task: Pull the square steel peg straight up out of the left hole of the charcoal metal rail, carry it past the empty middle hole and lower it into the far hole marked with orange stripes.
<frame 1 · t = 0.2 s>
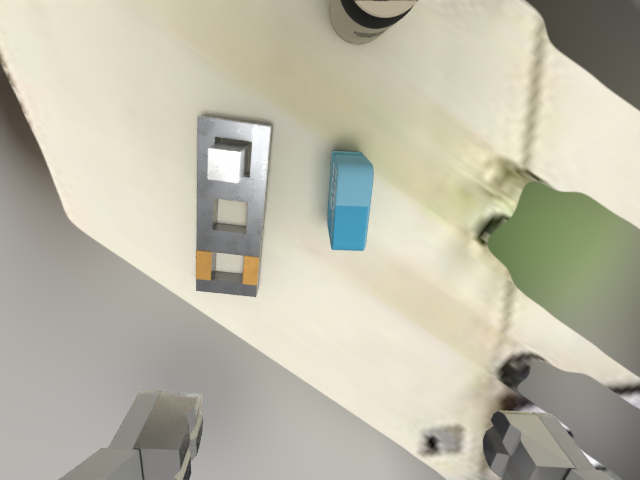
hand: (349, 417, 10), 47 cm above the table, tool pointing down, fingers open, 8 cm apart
steel peg: (236, 154, 53), resting in hole rail
hole rail: (233, 210, 56), on the table
travel mug: (359, 10, 46), on the table
data package: (343, 187, 56), on the table
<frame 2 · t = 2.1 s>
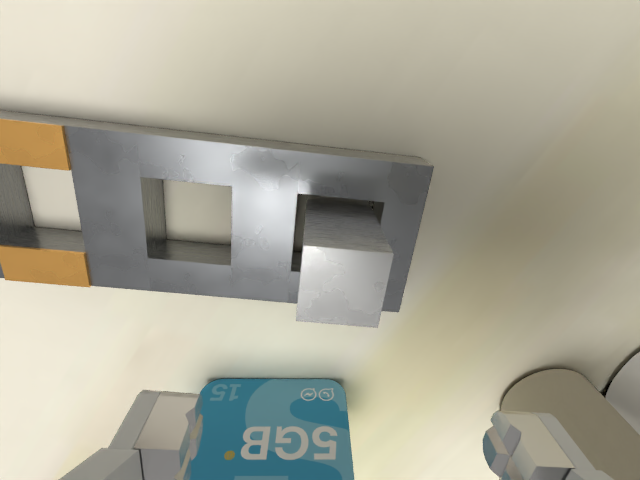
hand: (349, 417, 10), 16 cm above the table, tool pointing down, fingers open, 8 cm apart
steel peg: (333, 221, 24), resting in hole rail
hole rail: (202, 208, 24), on the table
travel mug: (542, 397, 32), on the table
data package: (275, 394, 31), on the table
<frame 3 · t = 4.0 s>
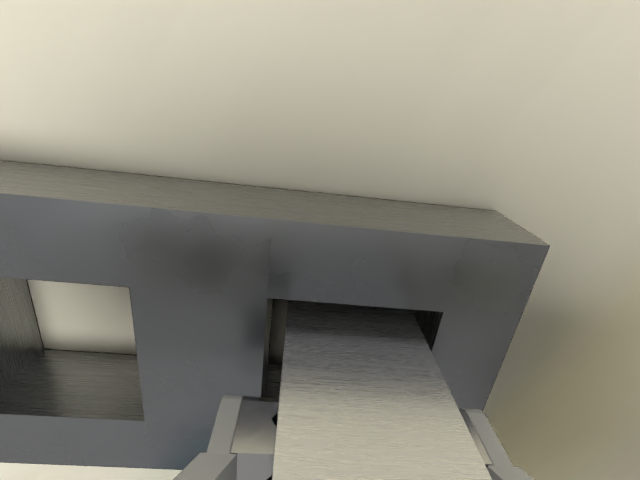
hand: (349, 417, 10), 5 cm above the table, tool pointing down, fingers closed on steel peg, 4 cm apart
steel peg: (337, 317, 14), resting in hole rail, touching gripper
hole rail: (102, 299, 13), on the table
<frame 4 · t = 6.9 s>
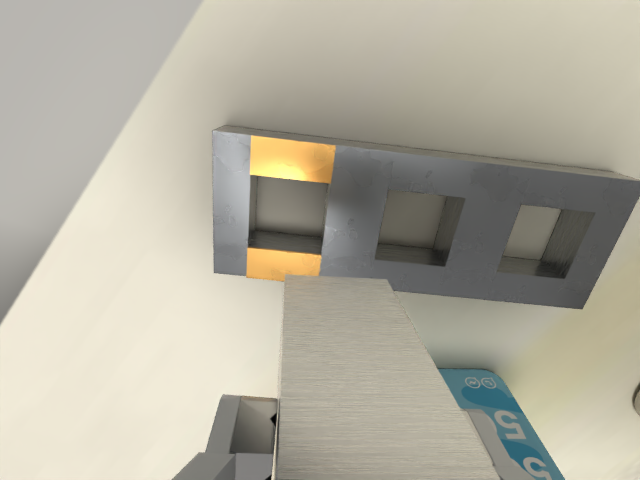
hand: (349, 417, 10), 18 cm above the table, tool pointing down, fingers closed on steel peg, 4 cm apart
steel peg: (331, 321, 14), point 14 cm above the table, tilted 6°, touching gripper
hole rail: (408, 215, 27), on the table
data package: (429, 383, 34), on the table
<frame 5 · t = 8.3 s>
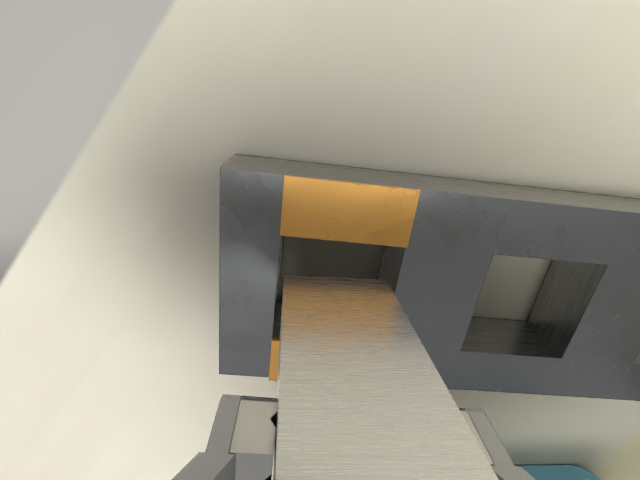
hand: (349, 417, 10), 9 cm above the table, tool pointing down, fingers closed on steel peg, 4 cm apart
steel peg: (330, 321, 14), point 4 cm above the table, touching gripper
hole rail: (497, 277, 19), on the table
when the fingers open (6 cm above the table, at t = 9.6 s): steel peg drops 1 cm, resting in hole rail.
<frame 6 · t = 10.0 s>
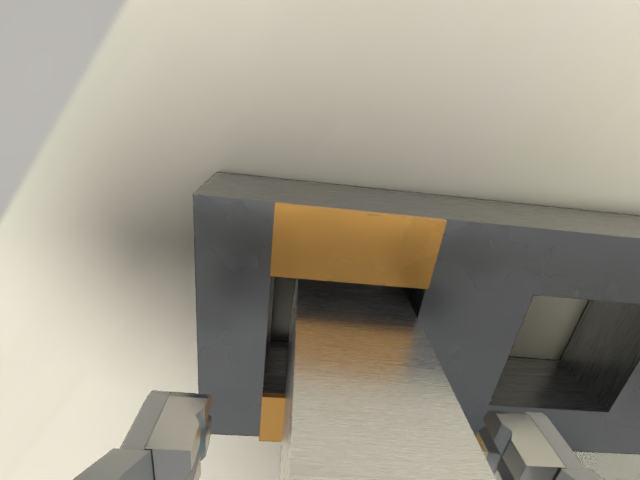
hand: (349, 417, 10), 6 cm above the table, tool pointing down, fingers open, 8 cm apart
steel peg: (338, 302, 15), resting in hole rail
hole rail: (528, 312, 16), on the table
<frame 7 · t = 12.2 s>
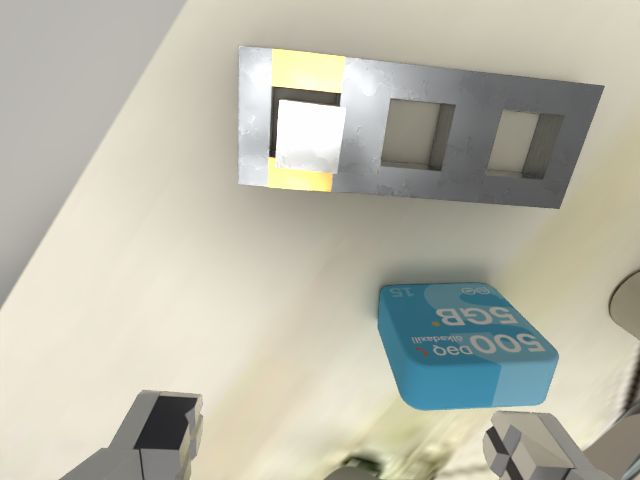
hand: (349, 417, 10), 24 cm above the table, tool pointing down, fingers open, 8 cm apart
steel peg: (306, 126, 30), resting in hole rail
hole rail: (406, 132, 30), on the table
data package: (430, 300, 38), on the table
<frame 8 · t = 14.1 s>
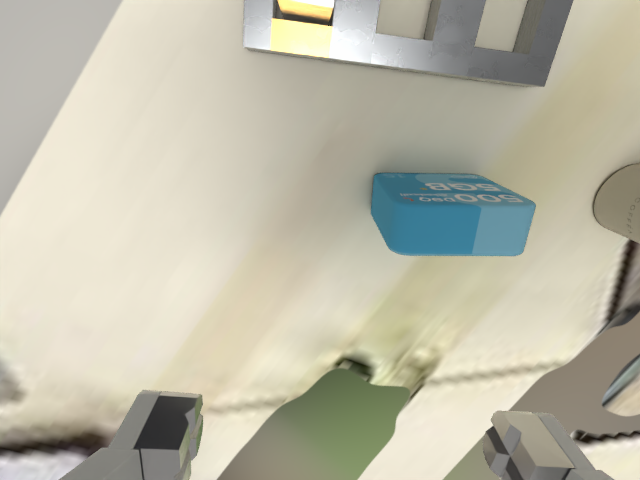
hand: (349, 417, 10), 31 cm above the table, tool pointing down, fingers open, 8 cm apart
hole rail: (401, 9, 32), on the table
travel mug: (625, 196, 41), on the table
data package: (421, 192, 40), on the table
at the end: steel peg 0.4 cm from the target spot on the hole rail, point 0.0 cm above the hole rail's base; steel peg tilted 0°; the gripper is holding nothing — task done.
